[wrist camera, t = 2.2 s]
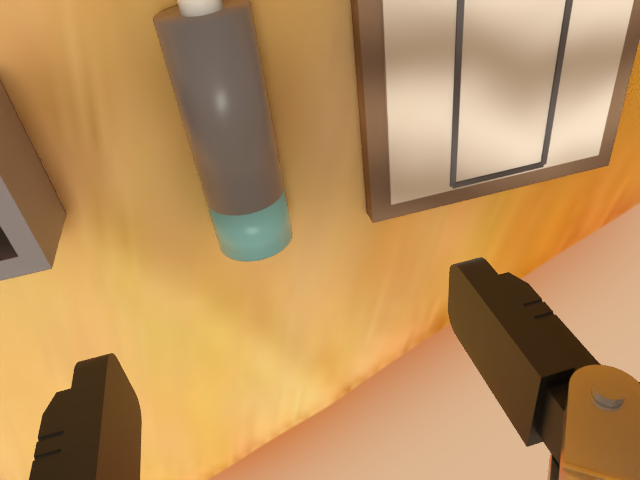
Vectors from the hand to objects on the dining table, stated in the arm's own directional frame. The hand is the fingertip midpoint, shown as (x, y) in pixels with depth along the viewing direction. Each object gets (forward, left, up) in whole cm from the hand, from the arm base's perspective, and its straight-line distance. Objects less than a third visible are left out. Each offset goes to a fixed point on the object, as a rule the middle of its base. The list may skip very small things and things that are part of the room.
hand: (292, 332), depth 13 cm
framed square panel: (0, +13, -14) cm, 19 cm away
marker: (0, 0, -14) cm, 14 cm away
